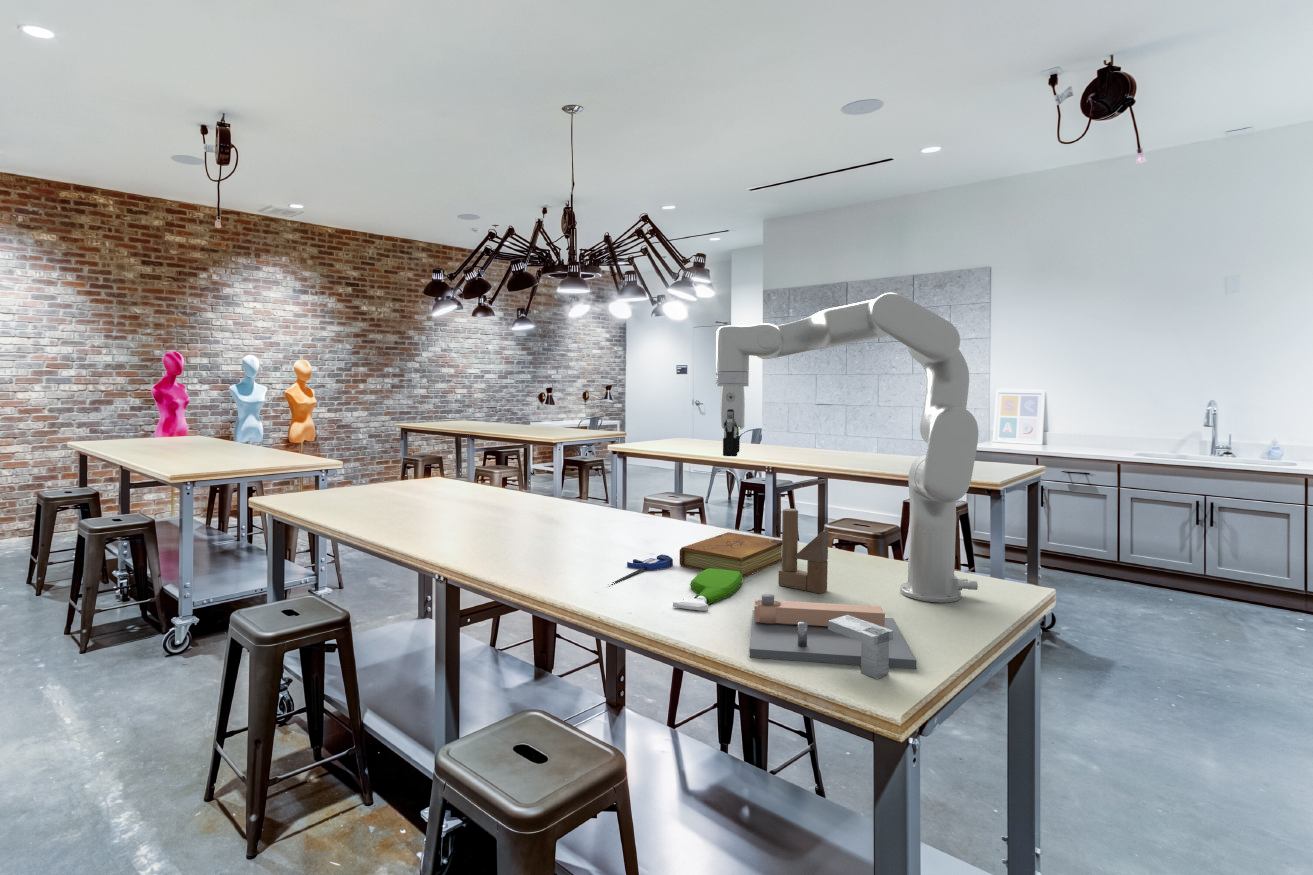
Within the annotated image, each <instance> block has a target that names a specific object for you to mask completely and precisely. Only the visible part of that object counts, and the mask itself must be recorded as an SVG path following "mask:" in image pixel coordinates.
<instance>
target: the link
mask: <svg viewBox="0 0 1313 875" xmlns="http://www.w3.org/2000/svg"><path fill="white" fill-rule="evenodd" d="M753 606H754V607H753V608H754V609H753V610H754V622H761V623H769V624H770V623H784V624H798V622H799V621H805V622H807V625H817V626H828V621H829V620H832V619H835V618H838V617H842V616H845V615H849V616H852V617H855V618H858V619H861V620H864V621H867V622H870V623H873V624H876V625H879V626H882V627H885V618H886V616H885V615H886V612H885V610H884V609H883V607H882V606H881V605H867V604H866V605H864V604H863V605H861V604H847V603H846V604H845V603H842V604H841V603H829V602H827V603H825V602H810V601H809V602H808V601H791V600H790V601H789V600H775V595H774V594H771V593H762V594H761V599H754V605H753Z"/></svg>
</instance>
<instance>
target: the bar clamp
mask: <svg viewBox="0 0 1313 875" xmlns="http://www.w3.org/2000/svg"><path fill="white" fill-rule="evenodd" d="M626 566H627V568H630V569H631V568H632V569H637V570H635V571H633V572H631V573H630V574H626V575H625V576H623V577H621V578H618V579H617V580H615V581H612V583H614V582H615V583H616V584H619V583H621V582H623V581H625V580H626V579H629V578H631V577H632V576H635V575H637V574H639V573H640V572H643V571H656V570H657V569H658V570H664V569H669V568H672V567H673V566H674V559H673V558H672V557H671V556H670V555H667V554H659V555H657V556H656V558H652V557H651V558H647V559H645V560H639V559H636V558H634V559H632V562H629V561H627V563H626ZM622 580H623V581H622ZM620 581H621V582H620ZM618 582H619V583H618ZM615 583H614V585H616V584H615ZM609 584H610V583H609ZM609 584H607V585H609ZM614 585H613V584H612V586H614Z"/></svg>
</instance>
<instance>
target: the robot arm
mask: <svg viewBox="0 0 1313 875" xmlns="http://www.w3.org/2000/svg"><path fill="white" fill-rule="evenodd" d="M715 335H716V336H715V337H716V338H715V342H716V343H715V344H716V345H715V387H720V417H721V418H720V420H721V421H720V422H721V428H722V429H723V438H722V456H723V457H737V456H738V453H740V446H741V445H740V444H741V442H740V440H741V439H740V437H741V435H739V434H740V431H739V430H743V429H744V428H745V405H746V404H745V401H746V398H745V387H749V384H750V383H749V380H750V379H749V378H750V377H749V376H750V374H749V372H750V371H749V370H750V356H754V357H757V358H759V359H762V360H771V359H775V358H782V357H785V356H786V357H787V356H791V355H796V354H800V353H806V352H811V351H816V350H818V351H819V350H825V349H829V348H834V347H835V348H836V347H839V346H844V345H848V344H853V343H854V344H855V343H858V342H863V341H868V340H869V341H870V340H873V339H874V340H875V339H879V338H884V337H887V336H889V337H891V338H892V339H895V341H898V342H899V343H900V344H902V345H904V346H906V347H907V351H908V353H909V355H910V357H911V358H912V359H913V360H914V361H916V362H918V363H919V364H920V365H921V366H922V368H923V371H924V373H925V376H926V388H925V395H924V402H923V410H922V413H921V419H920V425H919V433H920V436H921V438H922V439H923V441H924V442H925V443H926V444H927V446H926V447H927V448H926V453H925V454H923V455H921V456H919V457H917V458H916V459H915V460H914V461H913V462H912V464H911V466H910V468H909V472H908V492H909V493H908V496H909V526H908V527H909V528H908V530H909V532H908V556H907V557H908V563H907V564H908V565H907V568H908V569H907V581H906V582H904V583H902V584H901V585H900V587H899V588H900V590H899V591H900V593H902V594H903V595H904V596H906V597H909V598H910V599H914V600H916V601H917V600H918V601H923V602H930V603H941V604H942V603H954V602H957V601H959V600H961V599H962V592H961V591H963V590H972V591H977V590H978V588H979V586H978V581H977V580H969V579H968V578H958V577H957V576H956V574H955V566H956V565H955V562H956V559H955V558H956V537H957V536H956V534H957V533H956V532H957V530H956V528H957V504H956V502H957V501H959V500H960V499H962V498H963V497H964V496H965V495H966V493H967V492H968V490H969V488H970V486H971V482H972V479H973V472H974V467H975V462H976V455H977V448H978V441H979V426H978V421H977V419H976V418H975V416H974V415H973V414H972V412H970V410H968V409H967V407H968V406H967V404H968V398H969V387H970V372H969V371H970V370H969V367H968V366H969V365H968V363H967V361H966V359H965V356H964V355H963V353H962V352H961V350H960V349H959V348H960V345H961V335H960V333H959V330H958V329H957V327H956V326H955V325H954V324H953V323H951V322H950V321H948V320H947V319H945V318H944V317H942V316H940V315H939V314H936V313H934V312H933V311H931V310H930V309H928V308H925V307H924V306H922V305H921V304H919V303H917V302H915V301H914V300H912V299H910V298H909V297H907V296H904V295H902V294H900V293H896V292H886V293H883V294H881V295H879V296H877V297H876V298H874V299H869V300H865V301H860V302H856V303H851V304H847V305H842V306H835V307H831V308H826V309H823V310H821V311H820V310H819V311H818V312H816V313H814V314H812V315H810V316H808V317H805V318H802V319H800V320H795V321H791V322H788V323H787V322H786V323H783V324H779V325H775V324H773V323H759V324H753V325H733V324H732V325H722V326H720V327H718V329H716V334H715Z"/></svg>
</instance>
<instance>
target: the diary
mask: <svg viewBox="0 0 1313 875" xmlns="http://www.w3.org/2000/svg"><path fill="white" fill-rule="evenodd" d="M777 562H778V563H780V562H782V539H775V538H769V537H762V536H756V535H750V534H749V535H748V534H742V533H736V532H735V533H734V532H730V531H729V532H725V533H722V534H719V535H716V536H713V537H710V538H709V537H708V538H706V539H704V540H700V541H697V542H694V543H691V544H688V545H685V546H682V547H681V548H680V549H679V566H680V567H683V568H687V569H692V570H698V571H701V572H702V571H704V570H706V569H708V568H713V569H722V570H732V571H739V572H740V573H741V575H742V576H743V579H744V578H746V577H749V576H751V575H753V574H755V572H756V573H757V571H758V572H759V571H762V570H764V568H765V569H766V567H767V568H769V567H771V566H773V564H774V565H775V564H778V563H777ZM768 566H769V567H768ZM761 569H762V570H761ZM752 573H753V574H752ZM748 575H749V576H748Z"/></svg>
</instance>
